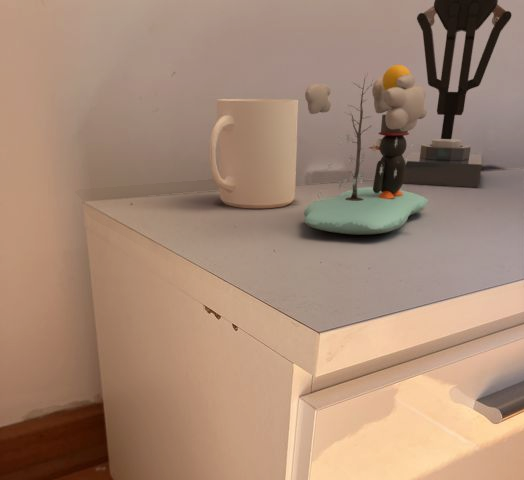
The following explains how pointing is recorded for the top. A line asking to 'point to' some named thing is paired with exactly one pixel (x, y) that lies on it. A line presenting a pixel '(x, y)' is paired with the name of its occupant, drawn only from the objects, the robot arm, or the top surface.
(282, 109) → the mug
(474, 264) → the top surface
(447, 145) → the flush button
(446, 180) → the push button box
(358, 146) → the penguin figurine
